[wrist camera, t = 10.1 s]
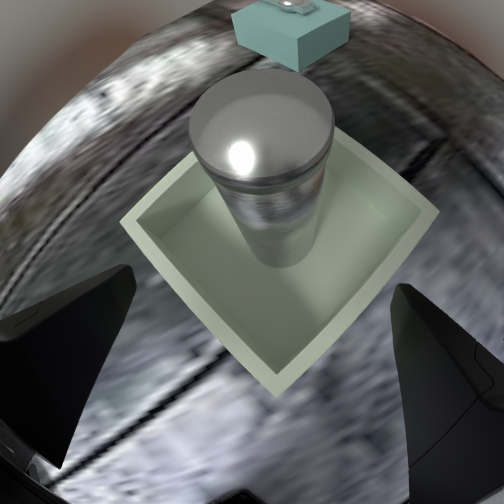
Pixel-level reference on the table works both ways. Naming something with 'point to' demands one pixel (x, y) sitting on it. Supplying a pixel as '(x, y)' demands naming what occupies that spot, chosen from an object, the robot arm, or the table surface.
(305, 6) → the crank handle
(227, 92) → the pin
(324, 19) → the crank block
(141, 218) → the tray
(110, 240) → the table surface
